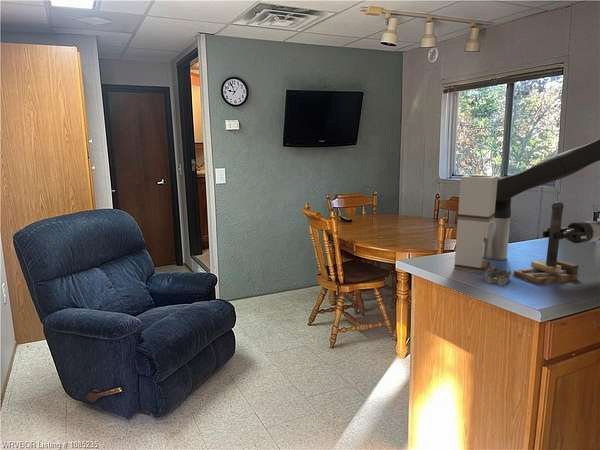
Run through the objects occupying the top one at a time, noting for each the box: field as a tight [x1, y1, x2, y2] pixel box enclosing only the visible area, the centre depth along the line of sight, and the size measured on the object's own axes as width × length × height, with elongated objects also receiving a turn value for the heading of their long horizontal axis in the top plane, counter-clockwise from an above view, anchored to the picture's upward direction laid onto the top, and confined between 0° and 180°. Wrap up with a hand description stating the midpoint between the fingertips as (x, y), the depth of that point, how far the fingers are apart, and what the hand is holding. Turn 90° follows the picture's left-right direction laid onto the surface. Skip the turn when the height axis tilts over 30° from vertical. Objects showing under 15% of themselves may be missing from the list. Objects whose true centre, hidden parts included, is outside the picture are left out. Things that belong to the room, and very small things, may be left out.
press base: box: [513, 258, 579, 286], centre depth 160 cm, size 18×11×5 cm, turn 111°
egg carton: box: [483, 265, 512, 286], centre depth 157 cm, size 11×8×4 cm
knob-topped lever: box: [530, 201, 565, 273], centre depth 157 cm, size 5×8×24 cm, turn 21°
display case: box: [453, 174, 499, 275], centre depth 168 cm, size 11×11×35 cm
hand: (548, 235), depth 154 cm, fingers closed on knob-topped lever, 3 cm apart
